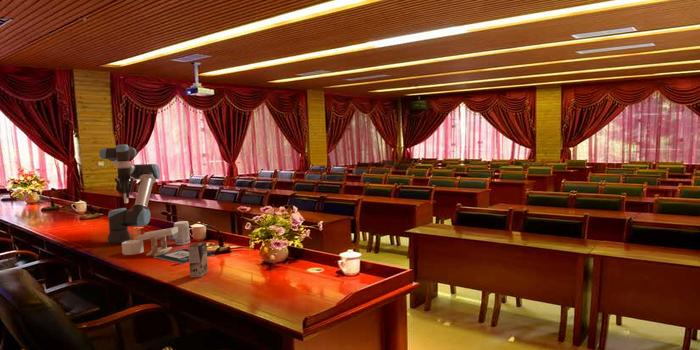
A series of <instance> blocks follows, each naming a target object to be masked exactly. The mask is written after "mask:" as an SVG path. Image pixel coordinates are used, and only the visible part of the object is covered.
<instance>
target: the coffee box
mask: <svg viewBox="0 0 700 350" xmlns="http://www.w3.org/2000/svg"><path fill="white" fill-rule="evenodd" d="M207 248H208V247H207V241H204V242H203V241H201V242H193V243H192V244H190V245H189V246H188V249H189V263H188V264H189V276H190V278H203V277H204V276H205V275H206V274H207V273H208V272H209V266H208V265H209V263H208V257H207V253H208V250H207Z"/></svg>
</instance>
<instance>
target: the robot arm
mask: <svg viewBox="0 0 700 350" xmlns="http://www.w3.org/2000/svg"><path fill="white" fill-rule="evenodd" d="M98 155H99V158H100V159H101V160H108V161H109V162H111V163H112V164H113V165H114V166H116V167H117V177H116V178H114V181H115V183H116V185H117V186H116V187H117V191H118V192H119V193H121V194H122V199H123V203H124V204H128V203H129V198H130V193H131V192H132V193H133V187H134V181H135V180H139V181H140V183H139V186H138V189H137V190H138V191H137V194H136V198H135V202H134V204H133V205H132V206H131V208H130V209H127V207H120V208H116V209H112V210H109V211H108V213H107V214H108V215H107V219H108V229H109V230H108V232H109V233H108V236H107V241H106V242H107V244H109V245H115V244H122V242H125V241H129V240H132V237H131V233H130V232H129V229H128V227H143V226H144V227H145V226H147V225H148V224H149V222H150V221H151V211H150V209H149V206H148V205H149V201H150V196H151V192H152V189H153V185H154V184H155V183H156V182H157V181H156V180H160V178H161V171H160V167H159V165H158V164H157V163H149V164H148V163H145V164H143V163H142V164H133V163H131V162H130V161H131V160H130V159H132V158H135V157H136V156H137V149H136V148H134V147H132V146H129V145H128V144H117V145H116V146H115V147H104V148H101V149H100V150H99V153H98Z"/></svg>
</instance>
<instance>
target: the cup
mask: <svg viewBox="0 0 700 350" xmlns="http://www.w3.org/2000/svg"><path fill="white" fill-rule="evenodd" d="M121 251H122V252H121V253H122V255H123V256H133V255H138V254H141V253H144V251H145V250H144V240H140V241H138V239H131V240H129V241H125V242H122V243H121Z"/></svg>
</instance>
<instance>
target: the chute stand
mask: <svg viewBox="0 0 700 350" xmlns="http://www.w3.org/2000/svg"><path fill="white" fill-rule="evenodd" d="M150 244H151V246H150V247H151V250H150V251H149V252H147V253H146V254H145V255H146V256H147V257H149V256H154V255H157V254H161V253H166V252H170V251H171V250H172V249H173V247H172V246H168V244H167V236H163V237H162V238H160V247H158V240H157V237H156V238H151V239H150Z"/></svg>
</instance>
